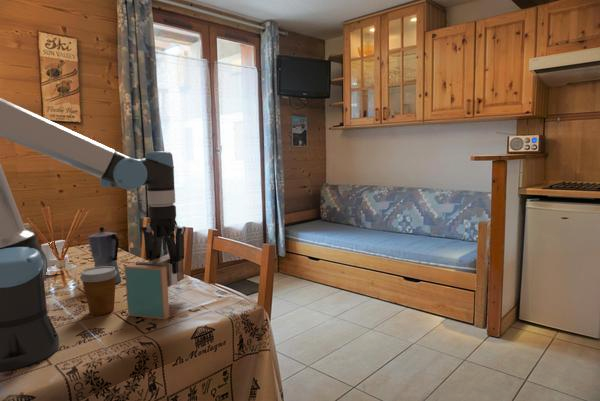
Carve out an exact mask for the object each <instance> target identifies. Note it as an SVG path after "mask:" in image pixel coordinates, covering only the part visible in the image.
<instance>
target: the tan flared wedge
mask: <svg viewBox="0 0 600 401" xmlns="http://www.w3.org/2000/svg"><path fill="white" fill-rule="evenodd" d="M169 262H171V261H170V256H169V253H167V254H164V255H162V256H160V257H159V258H157V259H154V260H152V261H151V260H150V261H149V260H148V261H146V262H143V261H141V262H140V261H138V262H137V261H136V263H135V265H147V266H163V267H166V271H167V286H168V288H169V287H171V285H170V282H169ZM178 266H179V267H178V268H179V272H178V273H177V283H179V282H181V281H183V280H185V275H184V274H185V273H184V272H185V271H184V259H183V260H181V261H179V262H178Z"/></svg>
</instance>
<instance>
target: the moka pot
mask: <svg viewBox="0 0 600 401" xmlns="http://www.w3.org/2000/svg"><path fill="white" fill-rule="evenodd" d="M87 240H88V244H89V248H90V252H91V256H92V258H93V263H94V267H101V266H112V267H115V269H116V271H117V274H116V282H115V285H117V283H120V282H121V281H122V278H121V277H122V276H121V274H120V270H119V265H118V262H117V261H118V252H119V247H120V246H119V243H120V242H119V241H120V240H119V237H118V233H116V232H111V231H105V227H103V226H100V227H99V232H96V233H93V234H90V235H88V236H87ZM94 267H93V268H94Z"/></svg>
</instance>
